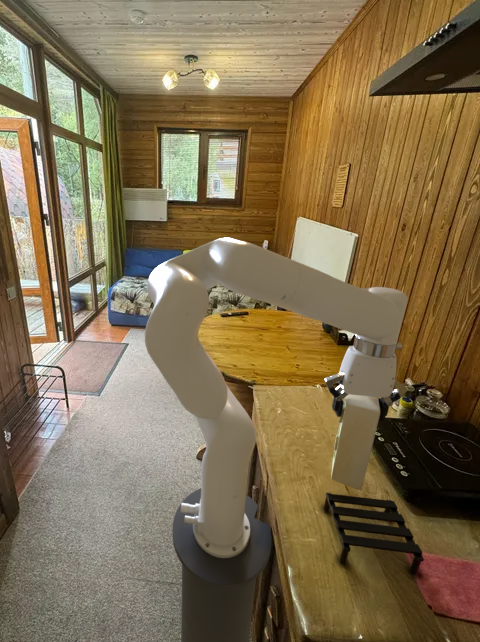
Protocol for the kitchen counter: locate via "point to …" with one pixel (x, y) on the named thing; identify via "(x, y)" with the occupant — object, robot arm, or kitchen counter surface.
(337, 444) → the toy refrigerator
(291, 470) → the kitchen counter surface
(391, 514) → the rack
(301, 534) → the kitchen counter surface
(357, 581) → the kitchen counter surface
